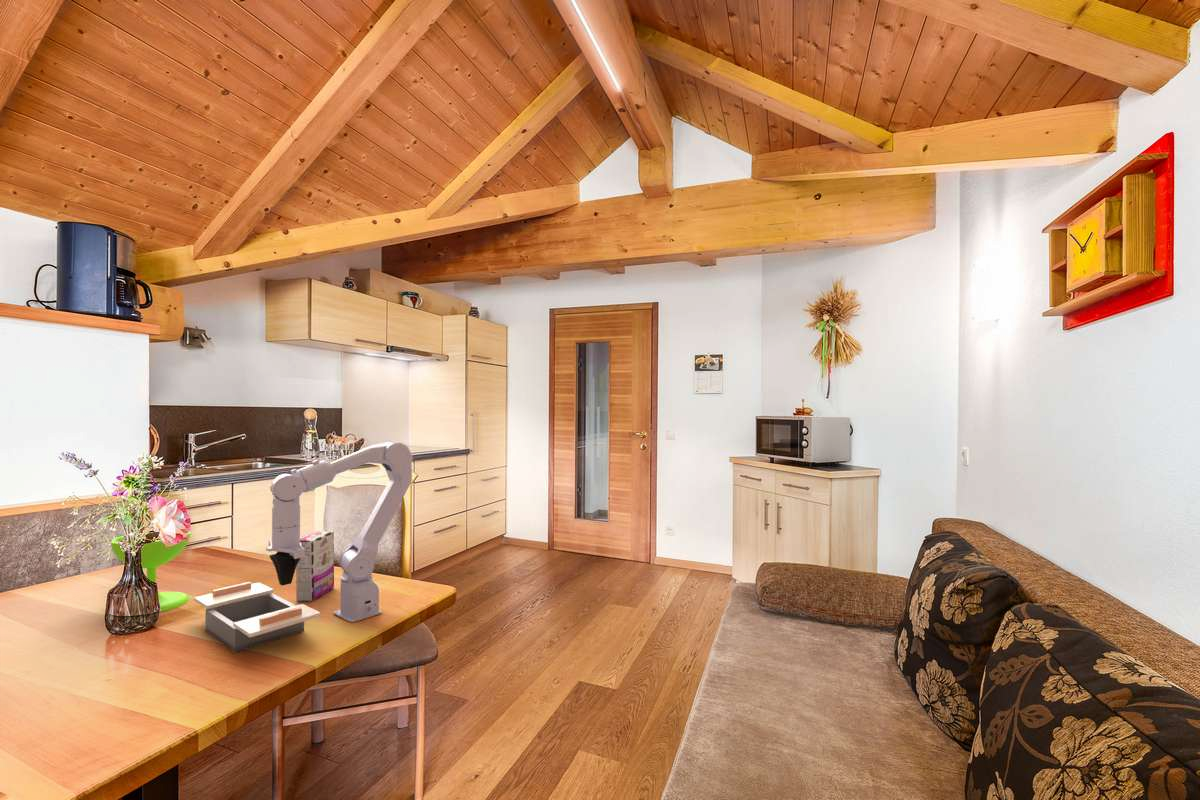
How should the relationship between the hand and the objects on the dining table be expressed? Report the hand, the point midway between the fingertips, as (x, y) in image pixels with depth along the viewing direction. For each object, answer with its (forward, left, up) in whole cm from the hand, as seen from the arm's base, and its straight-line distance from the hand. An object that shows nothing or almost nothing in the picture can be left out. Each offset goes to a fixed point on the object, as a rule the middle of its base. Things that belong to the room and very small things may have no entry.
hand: (285, 584), depth 126 cm
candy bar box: (+18, -15, -11) cm, 26 cm away
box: (+4, +5, -10) cm, 12 cm away
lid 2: (-9, +5, -5) cm, 11 cm away
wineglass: (+44, +15, -11) cm, 48 cm away
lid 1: (+16, +5, -5) cm, 18 cm away
